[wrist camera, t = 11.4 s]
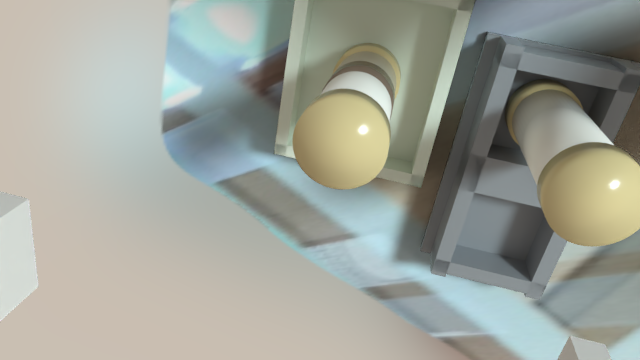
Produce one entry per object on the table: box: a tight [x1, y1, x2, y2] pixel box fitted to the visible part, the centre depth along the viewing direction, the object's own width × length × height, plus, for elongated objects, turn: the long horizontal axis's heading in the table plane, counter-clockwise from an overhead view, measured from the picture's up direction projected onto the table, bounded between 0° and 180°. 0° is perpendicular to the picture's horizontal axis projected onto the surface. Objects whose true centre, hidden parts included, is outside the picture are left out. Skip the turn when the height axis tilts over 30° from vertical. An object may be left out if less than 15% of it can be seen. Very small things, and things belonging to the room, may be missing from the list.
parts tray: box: [274, 0, 475, 188], centre depth 32 cm, size 12×10×2 cm
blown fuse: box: [292, 43, 401, 189], centre depth 28 cm, size 4×4×12 cm
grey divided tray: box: [421, 32, 640, 300], centre depth 33 cm, size 16×9×3 cm, turn 171°
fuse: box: [505, 79, 640, 246], centre depth 27 cm, size 4×4×12 cm
